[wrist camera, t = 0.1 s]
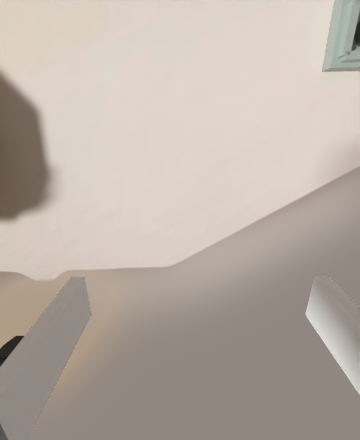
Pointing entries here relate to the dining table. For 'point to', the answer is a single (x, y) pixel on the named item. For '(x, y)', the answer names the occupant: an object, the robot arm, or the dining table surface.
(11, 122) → the dining table surface
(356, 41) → the pin
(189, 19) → the dining table surface
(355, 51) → the base
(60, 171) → the dining table surface
